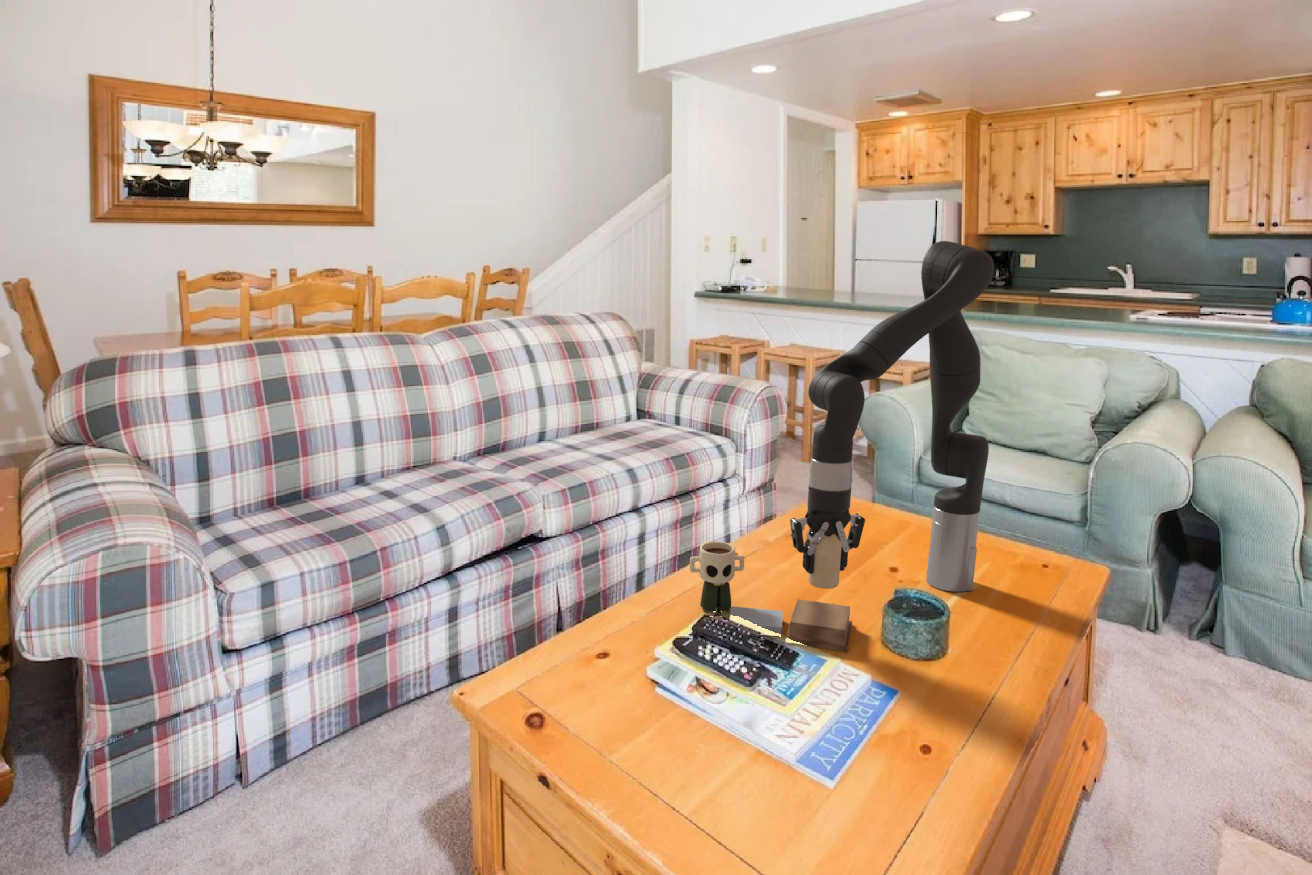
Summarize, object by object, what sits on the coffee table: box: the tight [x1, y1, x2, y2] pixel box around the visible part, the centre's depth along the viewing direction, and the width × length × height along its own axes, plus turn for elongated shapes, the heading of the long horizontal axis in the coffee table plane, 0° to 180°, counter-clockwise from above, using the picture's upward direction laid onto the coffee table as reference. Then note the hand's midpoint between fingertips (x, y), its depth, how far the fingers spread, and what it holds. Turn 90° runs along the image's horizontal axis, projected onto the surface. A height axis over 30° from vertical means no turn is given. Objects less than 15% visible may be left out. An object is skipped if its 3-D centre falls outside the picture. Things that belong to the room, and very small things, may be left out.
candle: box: [808, 534, 842, 590], centre depth 148 cm, size 6×6×10 cm
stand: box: [785, 598, 853, 653], centre depth 151 cm, size 11×11×4 cm
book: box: [729, 605, 784, 634], centre depth 154 cm, size 10×7×2 cm
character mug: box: [689, 541, 745, 613], centre depth 160 cm, size 11×7×13 cm, turn 96°
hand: (824, 570), depth 148 cm, fingers closed on candle, 5 cm apart
